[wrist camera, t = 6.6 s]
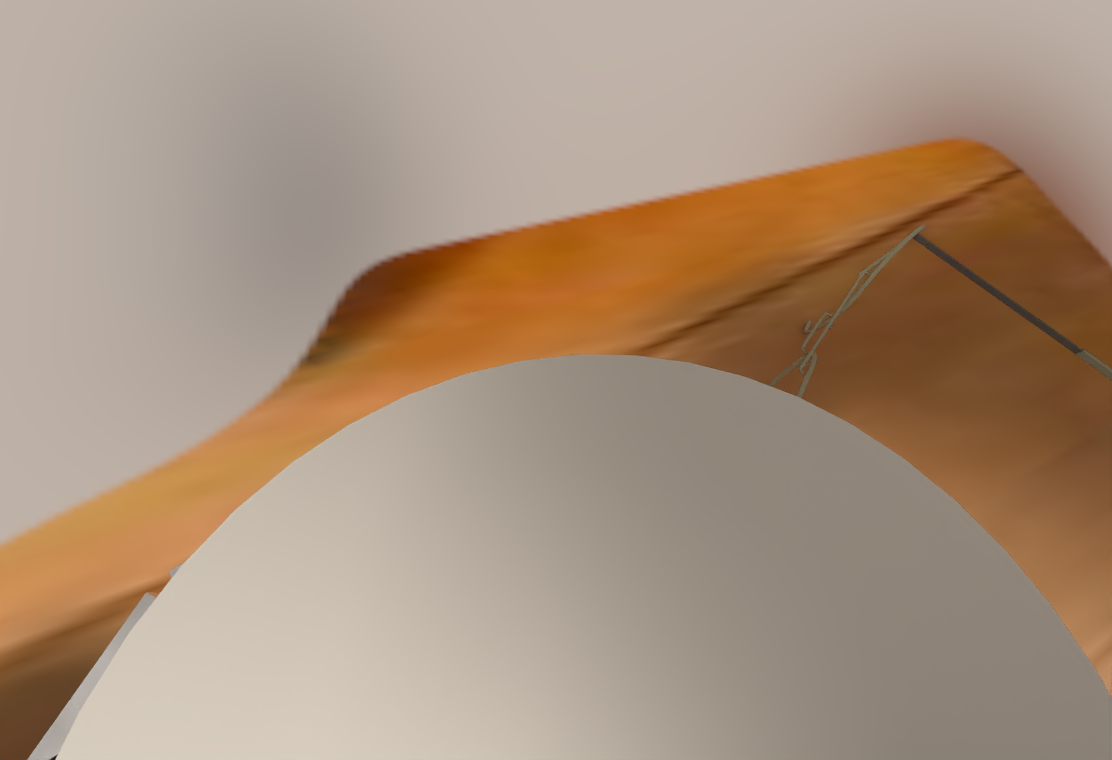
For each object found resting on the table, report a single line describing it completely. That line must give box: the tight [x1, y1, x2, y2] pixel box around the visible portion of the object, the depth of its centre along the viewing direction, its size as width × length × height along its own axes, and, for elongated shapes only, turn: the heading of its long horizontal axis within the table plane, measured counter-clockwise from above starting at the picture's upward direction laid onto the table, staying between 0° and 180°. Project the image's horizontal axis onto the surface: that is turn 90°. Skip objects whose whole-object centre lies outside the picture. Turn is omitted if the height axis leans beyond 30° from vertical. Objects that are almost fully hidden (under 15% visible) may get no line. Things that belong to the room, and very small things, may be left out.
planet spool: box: [55, 355, 1112, 760], centre depth 8 cm, size 6×6×13 cm
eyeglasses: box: [768, 225, 1112, 398], centre depth 22 cm, size 16×15×5 cm
